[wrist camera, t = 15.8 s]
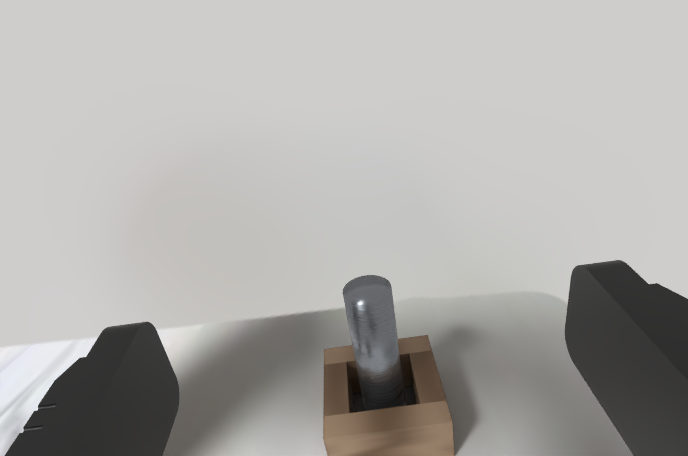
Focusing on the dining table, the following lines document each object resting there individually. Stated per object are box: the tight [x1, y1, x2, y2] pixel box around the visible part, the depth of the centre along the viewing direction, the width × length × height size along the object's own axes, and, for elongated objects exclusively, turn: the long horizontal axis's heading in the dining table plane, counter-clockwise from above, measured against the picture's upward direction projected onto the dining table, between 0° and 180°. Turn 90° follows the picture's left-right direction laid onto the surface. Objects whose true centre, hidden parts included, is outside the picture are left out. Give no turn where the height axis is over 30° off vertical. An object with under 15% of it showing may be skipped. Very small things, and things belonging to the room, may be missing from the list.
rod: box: [343, 275, 406, 411], centre depth 33 cm, size 3×3×12 cm
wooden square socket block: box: [323, 335, 454, 456], centre depth 35 cm, size 9×9×4 cm
